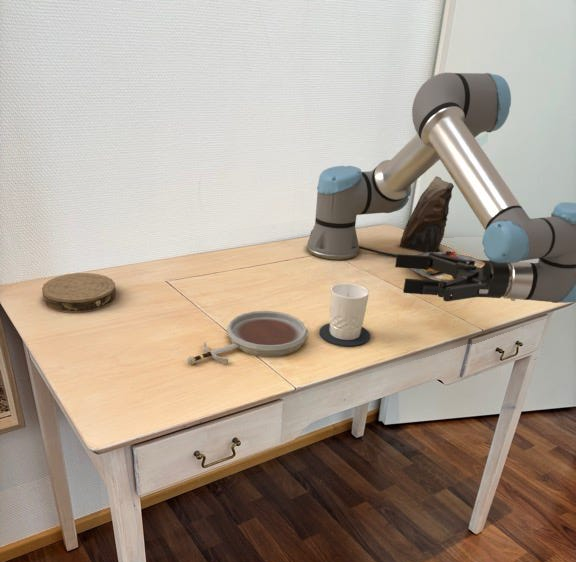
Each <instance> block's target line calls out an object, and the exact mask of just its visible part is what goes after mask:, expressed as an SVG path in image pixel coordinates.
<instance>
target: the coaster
mask: <svg viewBox="0 0 576 562" xmlns="http://www.w3.org/2000/svg"><path fill="white" fill-rule="evenodd" d="M329 328H330V322H329V323H326V324H324V325H322V326H321V327H320V329H319V336H320V338H321V339H322V340H323V341H325V342H327V344H331V345H333V346H338V347H344V348H355V347H360V346H364V345H365V344H367V343H368V342H369V341H370V339H371V334H370V331H368V330H367V329H366V328H365V327H363V326H362V329H361V334H360V336H359V337H358V338H356V339H353V340H342V339H338V338H335V337H334V336H332V335H331V334H330V331H329Z"/></svg>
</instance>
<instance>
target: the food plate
mask: <svg viewBox="0 0 576 562" xmlns="http://www.w3.org/2000/svg"><path fill="white" fill-rule="evenodd" d="M455 251H456V250H455ZM455 251H449V250H447V251H445V252H443V251H439V252H433V253H437V254H442V255H446V256H450V257H455V258H459V259H464V260H473V261H475V264H474V265H475V266H477V267H480V268H482V267H483V266H484V265H485V263H484V262H482V261H481V260H482V259H478V258H475V257H472V256H468V255H465V254H459V253H456V252H455ZM429 253H430V252H429ZM429 253H428V252H426V253H425V252H419V253H416V255H419V256H428V255H429ZM408 269H410V270H411V271H413V272H415V273H417V274H419V275H421V276H423V277H425V278H427V279H429V280H435V281H439V282H440V283H441V280H442V281H443V280H444V281H446V282H447V281H451V280H454V279H453V277H452V276H451V275H448V274H445V273H442V272H439V271H436V270H433V269H430V268H429V269H428V270H425V269H413V268H408Z"/></svg>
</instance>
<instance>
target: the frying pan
mask: <svg viewBox="0 0 576 562" xmlns="http://www.w3.org/2000/svg"><path fill="white" fill-rule="evenodd" d="M226 332H227V335H228V337H229V338H230V341H231V343H230V344H228V345H225V346H221V347H218V348H216V349H213V350H209V349H208V348H207V343H206V341H204V342H203V347H202V348H203V352H204V353H201V354H198V355H196V356H193V355H189V356H188V358H187V363H188V364H190V365H194V364H195V363H196V362H198V361H200V360H204V359H206V358H209V357H211V358H213V359H214V360H215V361H218V362H222V363H226V364H227V363H229V358H227V357H222V356H218V355H219V354H221V353H225V352H227V351H231V350H233V349H237V350H240V351H242V352H244V353H246V354H250V355H253V356H262V357H279V356H281V357H282V356H284V355H289V354H292V353H294V352H296V351H298V350H299V349H300V348H301V347H302V346H303V345H304V342H305V340H306V339H307V338H308V329H307V327H306V325H305V323H304V322H303V321H301V320H300V318H298V317H296V316H294V315H291V314H289V313H285V312H281V311H276V310H275V311H274V310H254V311H249V312H244V313H242V314H239V315H237V316H234V318H233V319H232V320H231V321H229V323H228V325H227V328H226Z"/></svg>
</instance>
